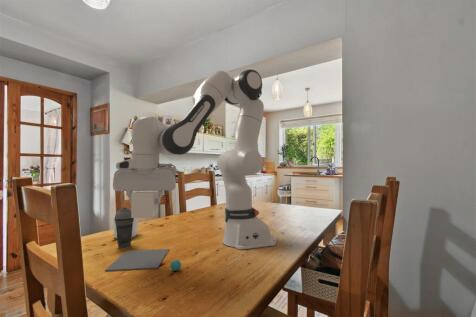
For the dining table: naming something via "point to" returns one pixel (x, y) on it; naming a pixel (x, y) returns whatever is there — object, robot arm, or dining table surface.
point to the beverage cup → (124, 227)
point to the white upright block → (144, 204)
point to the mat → (138, 260)
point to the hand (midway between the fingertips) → (145, 204)
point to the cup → (134, 228)
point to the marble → (175, 265)
